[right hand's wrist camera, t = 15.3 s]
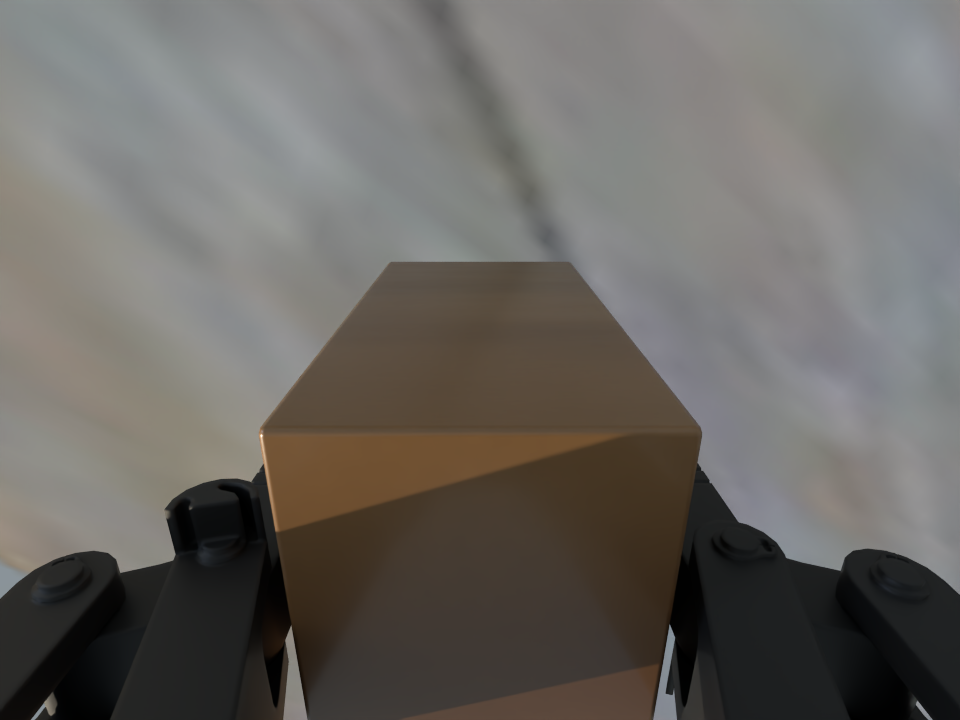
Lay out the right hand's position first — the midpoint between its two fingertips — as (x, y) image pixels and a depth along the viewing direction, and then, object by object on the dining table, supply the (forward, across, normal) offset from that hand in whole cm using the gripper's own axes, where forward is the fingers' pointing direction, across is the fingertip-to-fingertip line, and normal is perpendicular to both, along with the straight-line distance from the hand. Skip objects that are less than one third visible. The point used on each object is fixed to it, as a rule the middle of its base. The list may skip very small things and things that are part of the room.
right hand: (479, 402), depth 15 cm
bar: (+1, 0, -9) cm, 9 cm away
